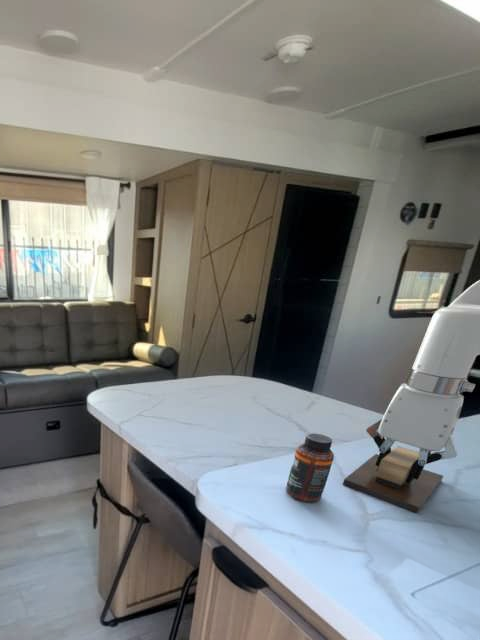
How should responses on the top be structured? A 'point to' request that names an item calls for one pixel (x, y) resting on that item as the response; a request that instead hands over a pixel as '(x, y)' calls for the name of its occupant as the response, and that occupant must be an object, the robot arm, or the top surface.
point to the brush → (396, 467)
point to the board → (404, 497)
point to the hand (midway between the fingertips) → (395, 474)
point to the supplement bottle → (310, 468)
